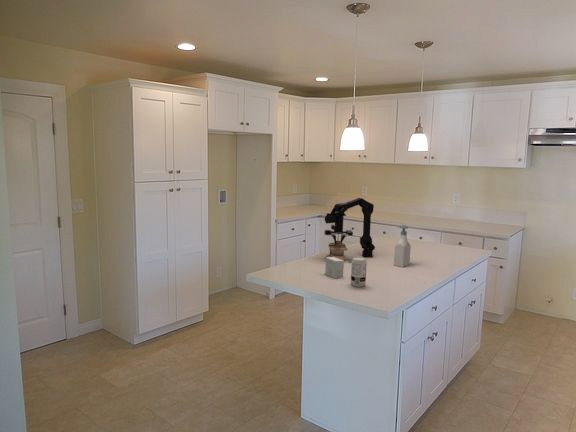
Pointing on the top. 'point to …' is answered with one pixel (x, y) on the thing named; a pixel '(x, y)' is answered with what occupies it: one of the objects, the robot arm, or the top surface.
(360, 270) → the supplement can
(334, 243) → the food container
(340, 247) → the walnut lid
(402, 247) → the soap bottle
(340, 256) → the terracotta bowl
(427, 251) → the top surface
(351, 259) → the rubber mat
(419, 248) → the top surface
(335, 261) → the skincare box
